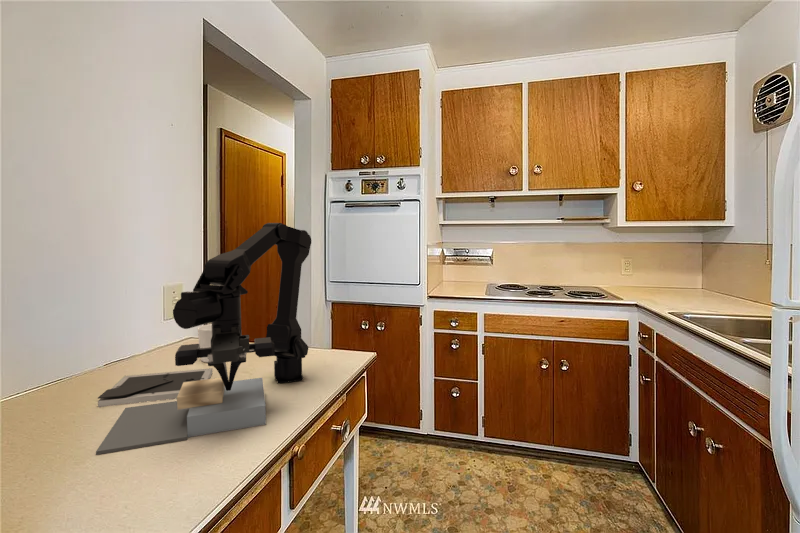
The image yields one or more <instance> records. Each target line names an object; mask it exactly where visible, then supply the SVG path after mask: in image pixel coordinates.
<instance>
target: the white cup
mask: <svg viewBox="0 0 800 533" xmlns="http://www.w3.org/2000/svg"><path fill="white" fill-rule="evenodd" d="M197 337H198V344H200V348H209V347H211V338H212V324H211V323H207V324H204V325H200V326H197ZM200 361H201V362H203V363H208V361H209V359H208V357H202V358H200Z"/></svg>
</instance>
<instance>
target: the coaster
mask: <svg viewBox="0 0 800 533" xmlns="http://www.w3.org/2000/svg"><path fill="white" fill-rule="evenodd" d="M224 389H225V386H224V383H223V381H222V379H221V377H216V378H210V379H206V380H199V381H191V382H183V384H182V387H181V389H180V391H179V394H178V396H177V399H176V401H177V406H178V410H179V409H186V408H192V407H199V406H205V405H212V404H219V403H223V396H224Z"/></svg>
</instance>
